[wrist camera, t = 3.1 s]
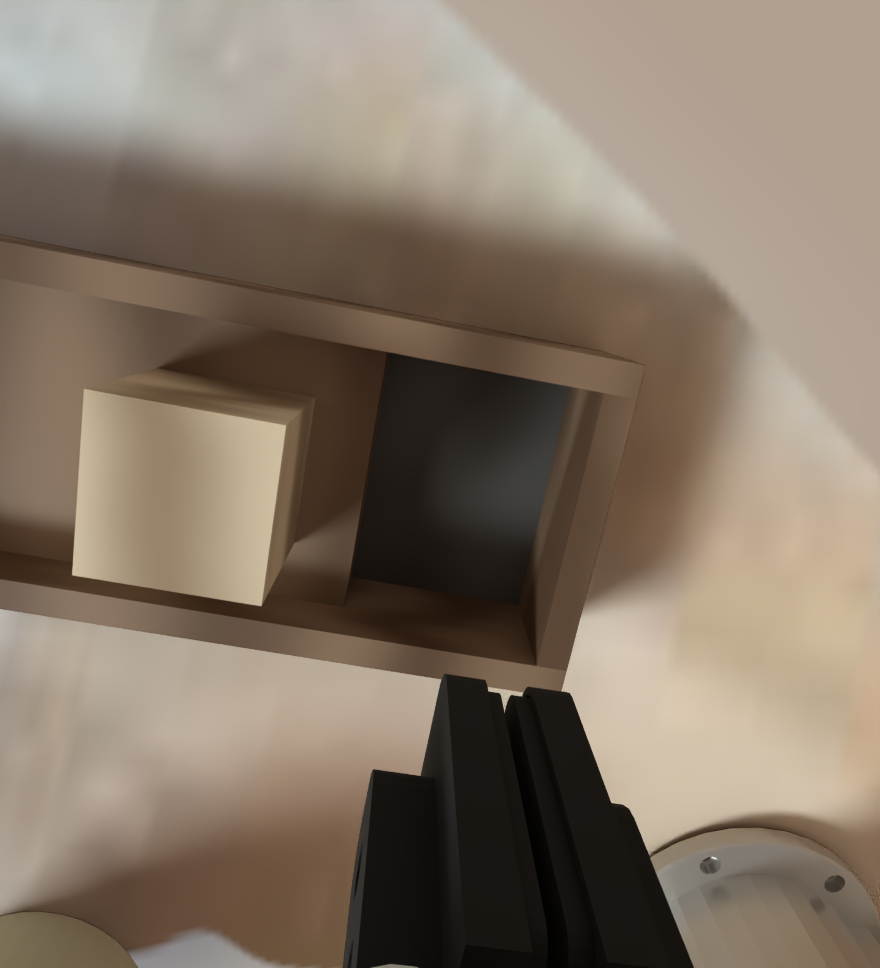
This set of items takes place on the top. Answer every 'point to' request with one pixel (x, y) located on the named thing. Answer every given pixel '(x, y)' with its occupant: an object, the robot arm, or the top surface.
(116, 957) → the reusable coffee cup
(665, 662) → the top surface
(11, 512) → the tray
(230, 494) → the maple block
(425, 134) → the top surface
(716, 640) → the top surface
